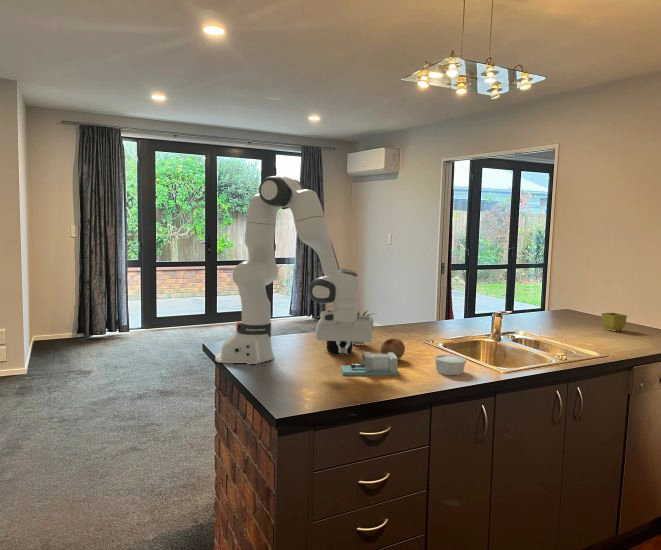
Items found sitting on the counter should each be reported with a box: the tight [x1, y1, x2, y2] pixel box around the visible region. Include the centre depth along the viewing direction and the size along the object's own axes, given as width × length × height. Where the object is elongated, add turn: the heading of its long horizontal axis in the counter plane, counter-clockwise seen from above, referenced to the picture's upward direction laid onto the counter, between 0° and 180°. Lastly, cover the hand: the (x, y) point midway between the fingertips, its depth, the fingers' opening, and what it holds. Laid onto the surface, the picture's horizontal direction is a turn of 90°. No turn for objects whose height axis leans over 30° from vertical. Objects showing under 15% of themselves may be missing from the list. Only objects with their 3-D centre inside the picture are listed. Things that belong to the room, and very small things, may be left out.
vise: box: [340, 353, 400, 376], centre depth 177 cm, size 20×8×6 cm, turn 95°
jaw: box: [350, 351, 374, 371], centre depth 177 cm, size 8×8×5 cm
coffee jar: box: [326, 307, 353, 355], centre depth 203 cm, size 11×11×18 cm
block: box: [371, 353, 390, 370], centre depth 177 cm, size 6×4×5 cm, turn 95°
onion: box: [380, 337, 406, 360], centre depth 194 cm, size 10×9×10 cm
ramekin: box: [434, 354, 467, 376], centre depth 180 cm, size 11×11×5 cm
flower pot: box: [600, 312, 628, 331], centre depth 261 cm, size 9×9×9 cm
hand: (342, 352), depth 176 cm, fingers closed
